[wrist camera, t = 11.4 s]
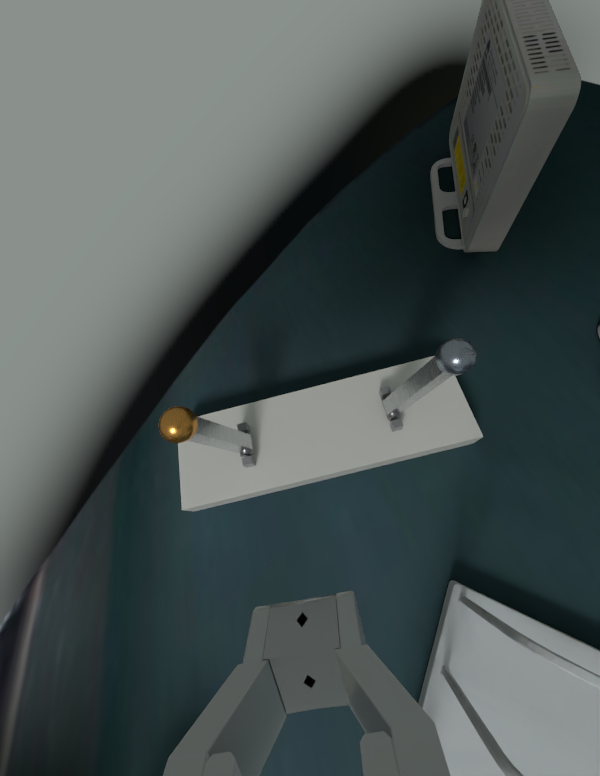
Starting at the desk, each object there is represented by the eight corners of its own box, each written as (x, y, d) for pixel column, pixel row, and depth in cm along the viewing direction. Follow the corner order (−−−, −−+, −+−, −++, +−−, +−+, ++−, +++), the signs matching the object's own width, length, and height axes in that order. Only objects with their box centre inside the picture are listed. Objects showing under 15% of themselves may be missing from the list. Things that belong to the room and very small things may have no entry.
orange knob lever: (235, 436, 37) (149, 409, 26) (258, 428, 36) (178, 396, 26) (239, 462, 36) (150, 444, 25) (262, 454, 35) (181, 432, 24)
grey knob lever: (371, 398, 35) (445, 330, 25) (394, 396, 36) (475, 329, 26) (379, 424, 34) (461, 363, 24) (403, 421, 35) (492, 362, 25)
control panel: (438, 365, 40) (447, 347, 36) (473, 443, 36) (488, 432, 32) (188, 428, 41) (170, 418, 37) (194, 511, 37) (175, 509, 33)
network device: (507, 266, 44) (617, 83, 26) (438, 268, 46) (497, 96, 27) (483, 145, 54) (551, -51, 36) (428, 150, 55) (466, -36, 37)
